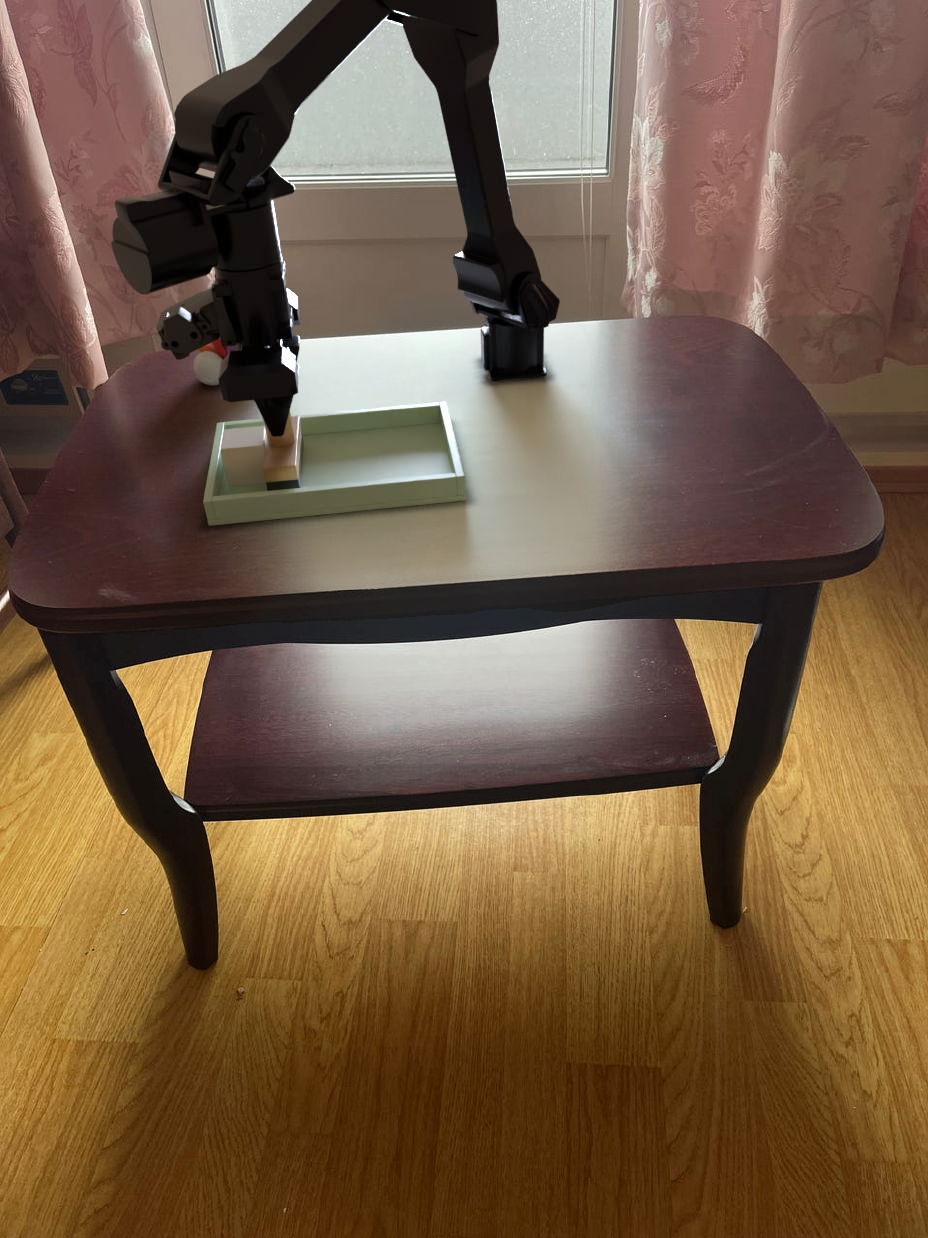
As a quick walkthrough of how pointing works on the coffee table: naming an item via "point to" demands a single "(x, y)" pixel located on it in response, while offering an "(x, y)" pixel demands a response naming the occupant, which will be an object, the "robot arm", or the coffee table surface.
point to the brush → (284, 457)
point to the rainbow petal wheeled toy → (210, 362)
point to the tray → (350, 466)
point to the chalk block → (244, 455)
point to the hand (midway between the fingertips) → (278, 428)
